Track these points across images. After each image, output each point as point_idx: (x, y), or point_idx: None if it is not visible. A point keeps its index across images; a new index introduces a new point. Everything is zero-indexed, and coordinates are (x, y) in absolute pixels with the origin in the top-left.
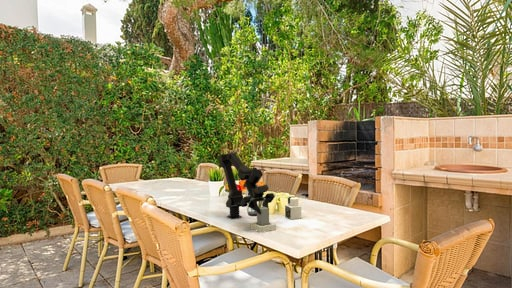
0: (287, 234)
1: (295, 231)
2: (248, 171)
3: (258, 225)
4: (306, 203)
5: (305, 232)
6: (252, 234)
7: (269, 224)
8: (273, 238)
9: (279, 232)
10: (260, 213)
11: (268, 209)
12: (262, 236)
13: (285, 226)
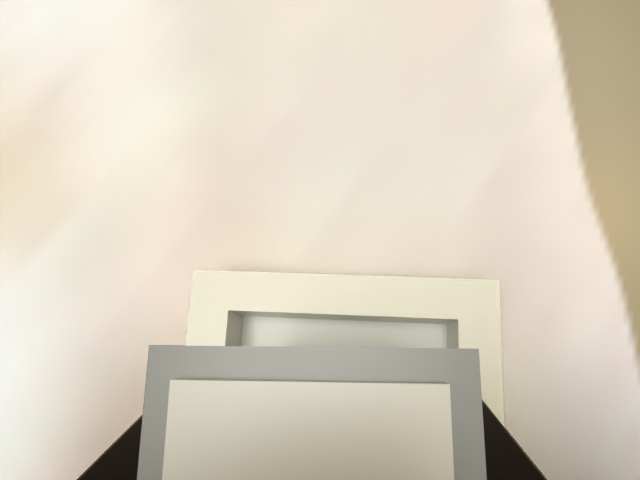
0: (228, 49)
1: (73, 89)
2: None
3: None
4: None
5: (20, 4)
6: (617, 292)
7: None
8: (457, 17)
9: (252, 160)
10: None
11: (184, 348)
12: (535, 144)
13: (3, 335)
